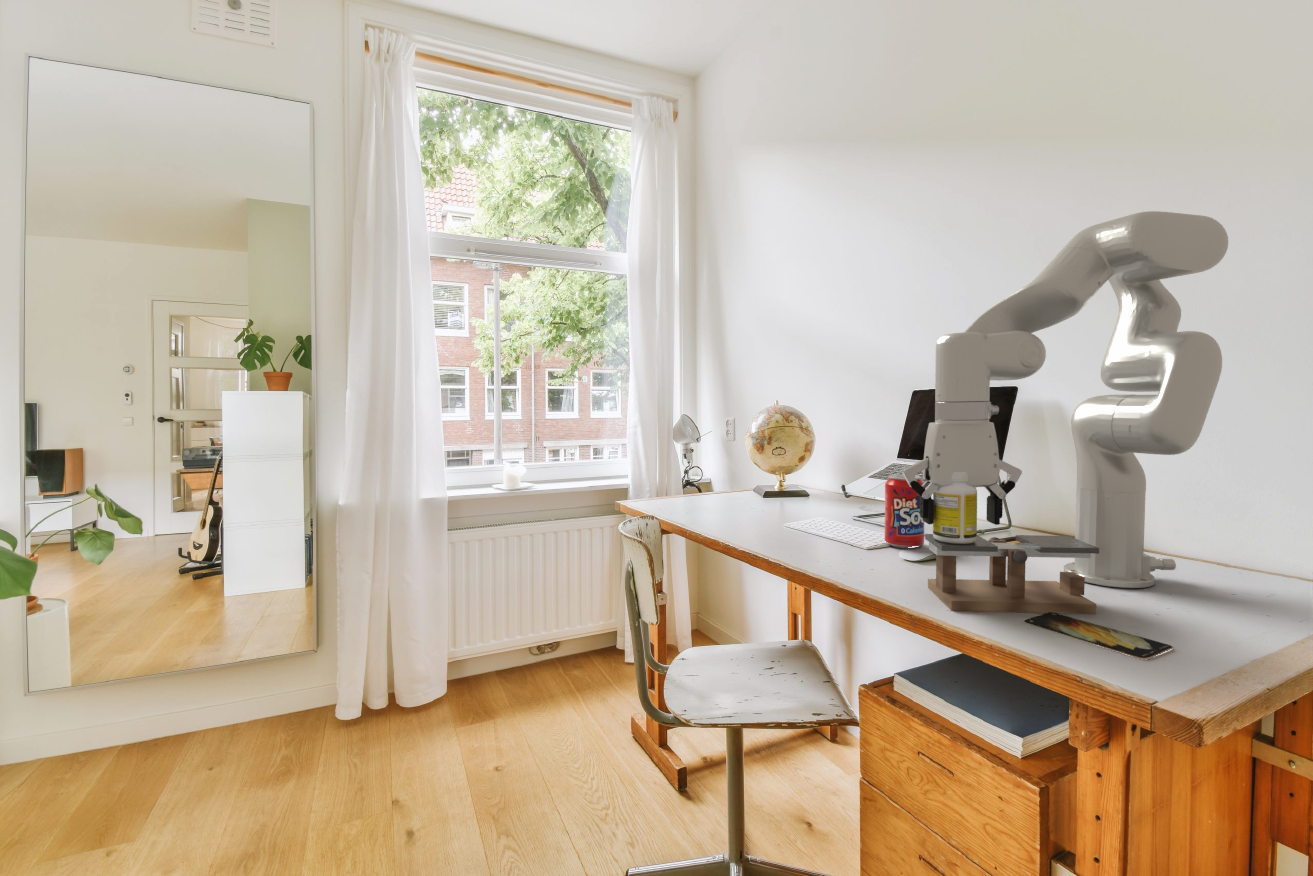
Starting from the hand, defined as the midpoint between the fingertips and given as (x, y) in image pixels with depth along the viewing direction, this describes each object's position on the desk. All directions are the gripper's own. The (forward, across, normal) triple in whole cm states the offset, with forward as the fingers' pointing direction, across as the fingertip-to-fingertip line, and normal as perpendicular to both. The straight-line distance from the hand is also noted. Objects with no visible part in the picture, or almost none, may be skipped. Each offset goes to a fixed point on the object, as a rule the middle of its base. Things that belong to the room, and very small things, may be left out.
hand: (960, 522), depth 95 cm
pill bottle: (+3, +1, 0) cm, 3 cm away
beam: (+4, -7, 0) cm, 8 cm away
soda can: (+12, -1, -35) cm, 37 cm away
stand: (+12, -7, 0) cm, 14 cm away
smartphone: (+13, -12, +14) cm, 22 cm away
